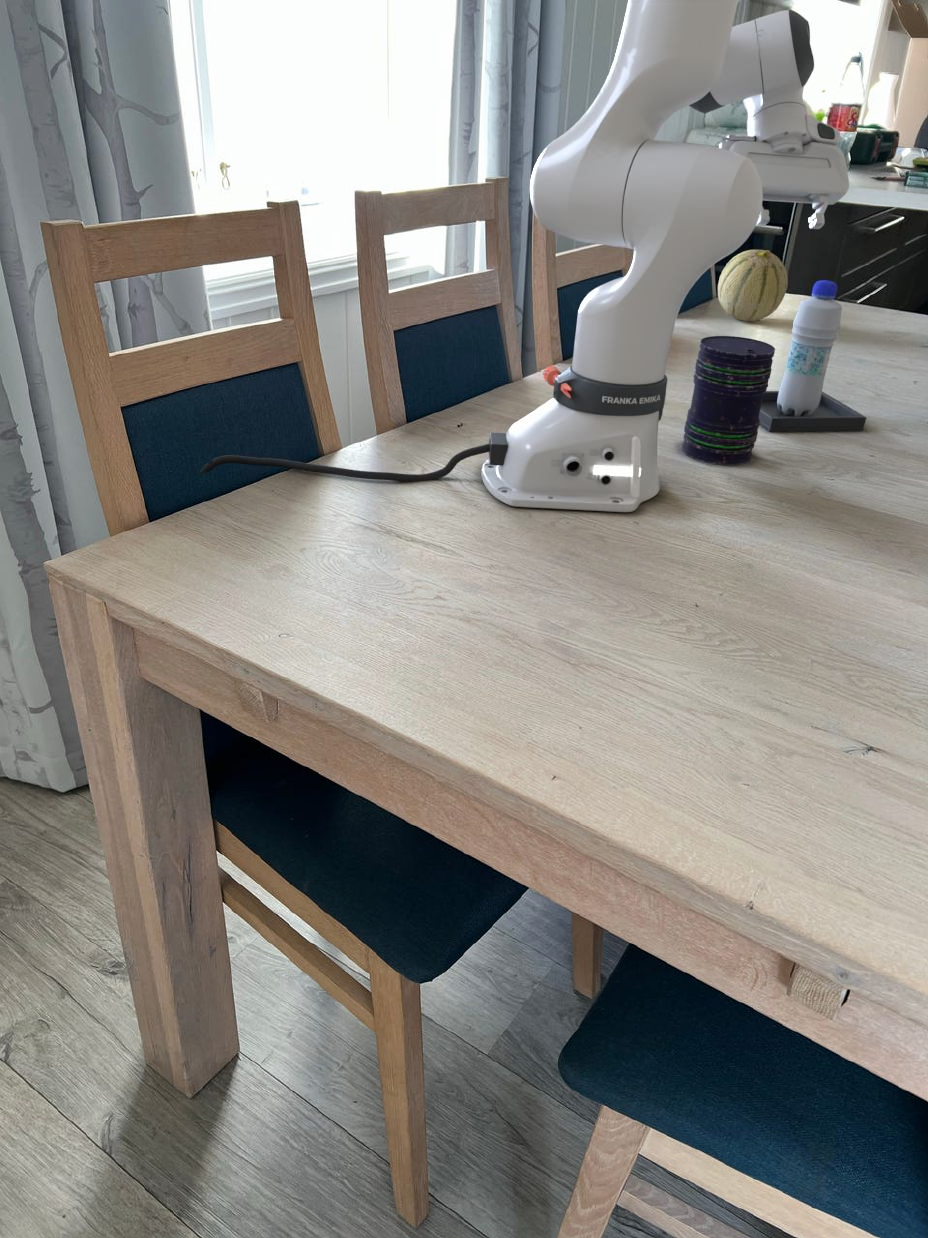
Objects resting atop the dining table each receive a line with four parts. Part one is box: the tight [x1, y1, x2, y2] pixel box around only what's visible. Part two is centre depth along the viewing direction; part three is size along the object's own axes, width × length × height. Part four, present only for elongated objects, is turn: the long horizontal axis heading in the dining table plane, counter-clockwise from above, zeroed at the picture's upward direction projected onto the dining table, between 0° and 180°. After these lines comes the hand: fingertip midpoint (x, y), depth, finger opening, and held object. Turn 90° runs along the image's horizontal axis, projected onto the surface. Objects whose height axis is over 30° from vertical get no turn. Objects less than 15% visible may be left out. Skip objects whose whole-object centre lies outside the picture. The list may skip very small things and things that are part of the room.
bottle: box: [777, 279, 843, 417], centre depth 143 cm, size 7×7×20 cm
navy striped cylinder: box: [681, 335, 776, 466], centre depth 128 cm, size 10×10×15 cm
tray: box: [759, 390, 867, 433], centre depth 147 cm, size 16×14×2 cm
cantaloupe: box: [717, 249, 789, 322], centre depth 204 cm, size 15×15×15 cm
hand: (790, 225), depth 142 cm, fingers open, 8 cm apart
